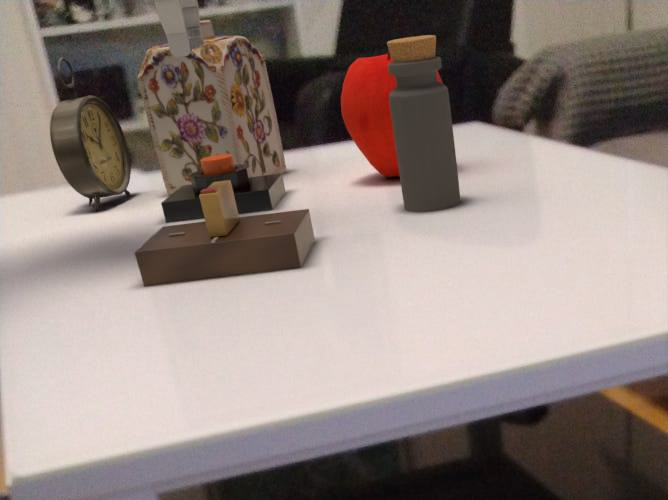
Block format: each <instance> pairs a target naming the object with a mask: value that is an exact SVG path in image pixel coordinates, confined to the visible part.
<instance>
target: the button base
mask: <svg viewBox="0 0 668 500" xmlns="http://www.w3.org/2000/svg"><path fill="white" fill-rule="evenodd" d="M235 168H236V169H235V170H232V171H229V172H224V173H218V174H208V175H204V174H203V170H200V171H197V172H194V173H192V174H191V175H190V179H191V183H192V184H191V185H183V186H181V187H180V188H179V189H178V190H176V191H175V192H174V193H173V194H171V195H168V196H167V197H166V198H165V199H164V200H162V201H161V203H160V205H161V208H162V212H163V216H164V219H165V224H166V223H167V224H169V223H177V222H186V221H193V220H201V219H205V218H204V214H203V210H202V206H201V201H200V197H199V195H200V194H201V192H200V191H201V190H203V189H207V188H208V187H209V186H210V185H211V184H212V183H213V182H218V181H226V180H230V181H231V184H232V189H233V193H234V197H235V202H236V206H237V211H238V215H241V214H242V215H243V214H250V213H251V214H252V213H260V212H268V211H273V210H274V209H275V208H276V206H277V205H278V204H279V202H281V199H282V198H283V197H284V196H285V195H286V191H287V190H286V187H285V181H284V176H283V174H273V175H265V176H256V177H251V172H250V168H249V166H248V165H244V164H235Z"/></svg>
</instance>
